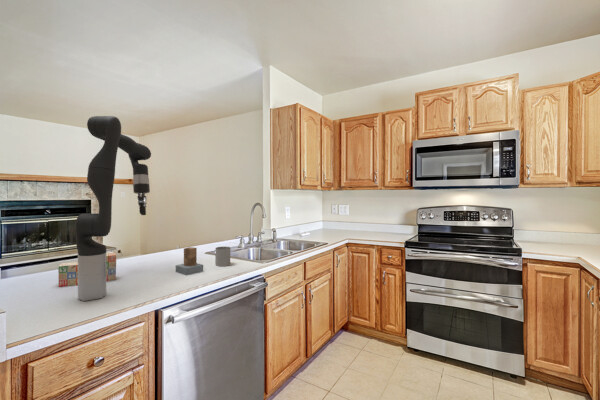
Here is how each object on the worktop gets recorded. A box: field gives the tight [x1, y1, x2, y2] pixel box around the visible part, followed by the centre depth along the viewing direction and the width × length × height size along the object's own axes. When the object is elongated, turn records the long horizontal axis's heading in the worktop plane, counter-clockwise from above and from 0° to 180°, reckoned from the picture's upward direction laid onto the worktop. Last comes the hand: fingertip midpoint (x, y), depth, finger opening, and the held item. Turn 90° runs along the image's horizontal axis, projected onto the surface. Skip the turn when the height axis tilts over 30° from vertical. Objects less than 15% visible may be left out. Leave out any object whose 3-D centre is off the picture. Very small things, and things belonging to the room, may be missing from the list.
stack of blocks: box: [57, 252, 117, 288], centre depth 134 cm, size 21×6×12 cm, turn 122°
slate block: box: [175, 262, 204, 276], centre depth 154 cm, size 10×10×4 cm
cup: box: [214, 246, 231, 268], centre depth 169 cm, size 8×8×10 cm
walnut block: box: [183, 246, 198, 266], centre depth 154 cm, size 4×4×9 cm
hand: (142, 214), depth 152 cm, fingers open, 8 cm apart
